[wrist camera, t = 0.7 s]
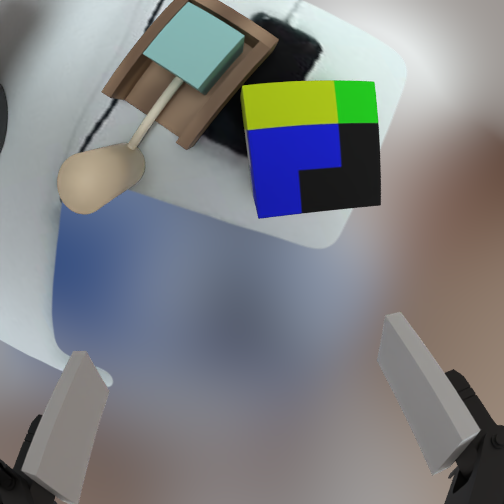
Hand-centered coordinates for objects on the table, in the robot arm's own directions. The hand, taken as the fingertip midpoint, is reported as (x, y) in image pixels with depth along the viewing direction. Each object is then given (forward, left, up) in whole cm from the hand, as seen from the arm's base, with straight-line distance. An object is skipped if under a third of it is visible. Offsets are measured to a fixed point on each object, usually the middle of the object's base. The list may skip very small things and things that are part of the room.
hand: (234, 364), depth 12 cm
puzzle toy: (0, +10, -23) cm, 25 cm away
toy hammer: (-13, +4, -23) cm, 26 cm away
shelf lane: (-13, +9, -23) cm, 28 cm away
